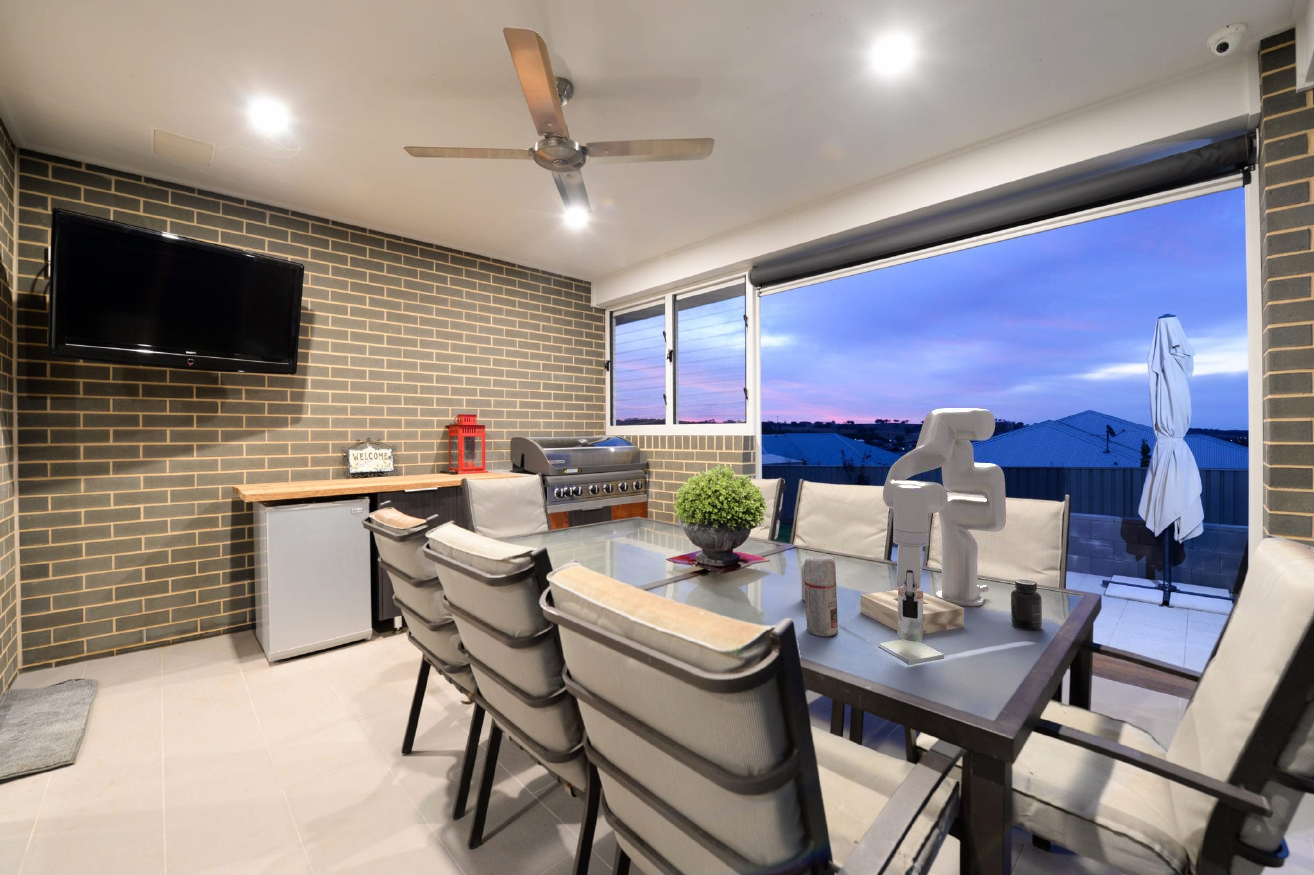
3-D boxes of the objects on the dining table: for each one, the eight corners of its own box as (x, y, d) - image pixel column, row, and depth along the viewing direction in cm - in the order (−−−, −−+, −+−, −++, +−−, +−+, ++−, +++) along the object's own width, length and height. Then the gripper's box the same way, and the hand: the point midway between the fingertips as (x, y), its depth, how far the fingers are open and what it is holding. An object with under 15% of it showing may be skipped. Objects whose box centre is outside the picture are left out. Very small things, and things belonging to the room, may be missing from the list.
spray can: (821, 640, 134) (821, 561, 134) (798, 629, 142) (798, 554, 141) (845, 633, 138) (845, 557, 138) (822, 623, 145) (821, 550, 145)
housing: (911, 608, 156) (911, 588, 156) (964, 631, 139) (964, 608, 139) (860, 615, 151) (860, 594, 151) (908, 640, 134) (908, 616, 133)
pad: (911, 641, 133) (911, 637, 133) (944, 658, 123) (944, 654, 123) (878, 647, 130) (878, 643, 130) (909, 665, 120) (909, 660, 120)
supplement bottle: (1036, 623, 144) (1037, 579, 143) (1046, 632, 137) (1046, 586, 137) (1007, 620, 146) (1007, 577, 146) (1015, 629, 140) (1015, 584, 139)
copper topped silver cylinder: (910, 631, 130) (910, 586, 129) (927, 639, 125) (928, 593, 124) (892, 633, 128) (892, 588, 128) (909, 642, 123) (910, 595, 123)
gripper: (895, 529, 135) (895, 600, 135) (890, 543, 120) (890, 622, 120) (928, 531, 131) (928, 604, 132) (928, 546, 116) (928, 628, 117)
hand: (910, 612), depth 126 cm, fingers closed on copper topped silver cylinder, 5 cm apart
